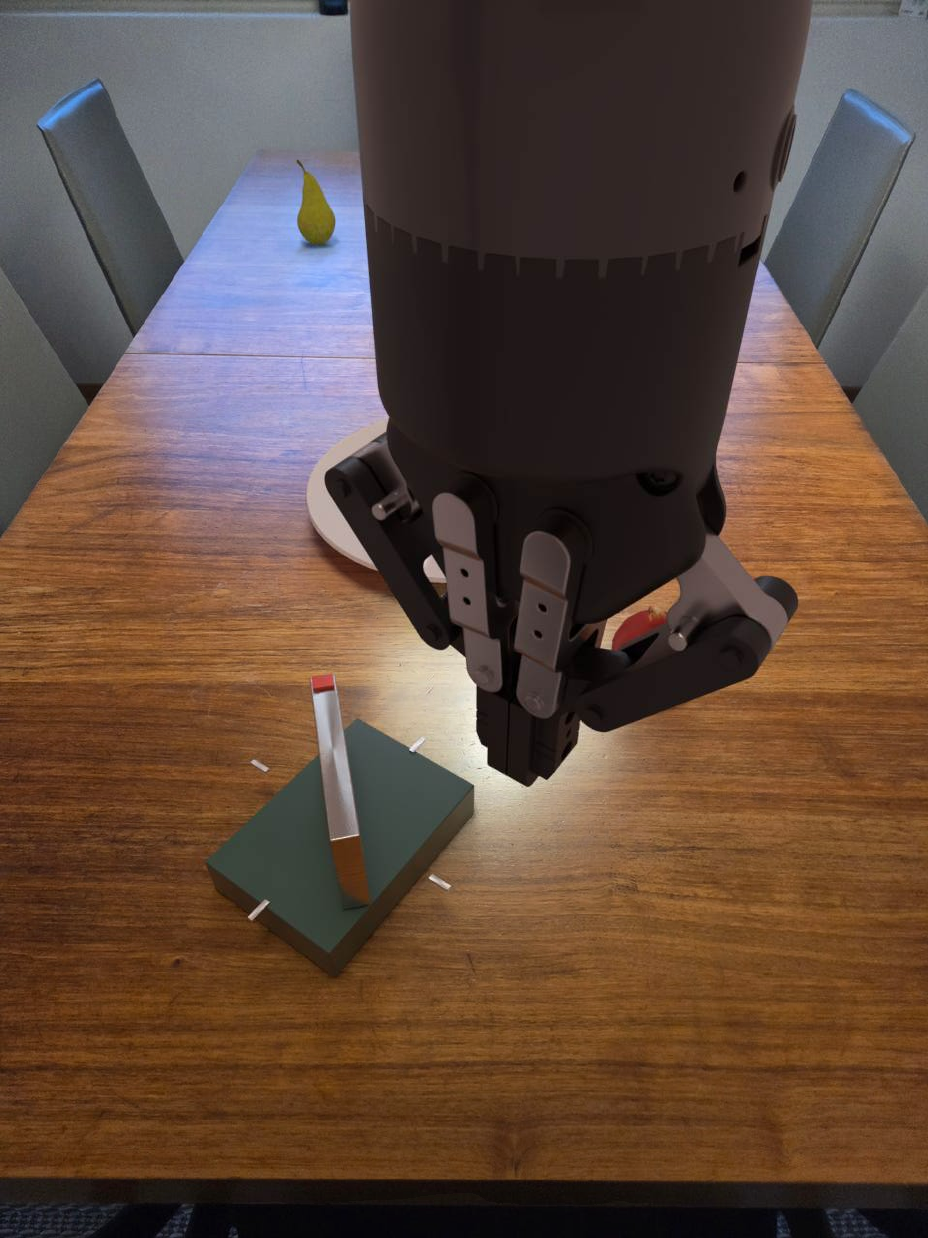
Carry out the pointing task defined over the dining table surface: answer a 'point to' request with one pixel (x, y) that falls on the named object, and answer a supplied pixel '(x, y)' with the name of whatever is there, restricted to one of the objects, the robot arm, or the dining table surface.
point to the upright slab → (339, 793)
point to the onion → (638, 625)
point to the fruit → (314, 212)
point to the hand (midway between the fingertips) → (525, 759)
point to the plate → (330, 517)
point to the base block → (302, 857)
